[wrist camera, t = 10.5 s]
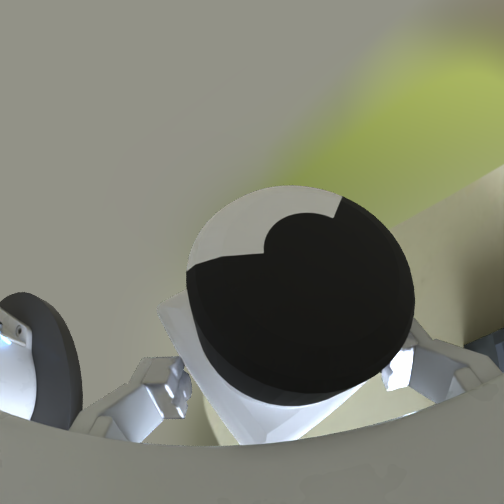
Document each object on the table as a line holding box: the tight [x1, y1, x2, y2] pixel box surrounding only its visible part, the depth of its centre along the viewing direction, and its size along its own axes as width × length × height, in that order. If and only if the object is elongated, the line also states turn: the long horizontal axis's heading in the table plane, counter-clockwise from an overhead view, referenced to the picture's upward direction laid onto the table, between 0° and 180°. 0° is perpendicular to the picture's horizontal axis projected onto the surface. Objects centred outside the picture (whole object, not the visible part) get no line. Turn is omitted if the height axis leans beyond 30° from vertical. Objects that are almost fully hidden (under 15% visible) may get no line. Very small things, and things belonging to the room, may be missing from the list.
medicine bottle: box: [157, 185, 415, 445], centre depth 11 cm, size 7×7×12 cm
